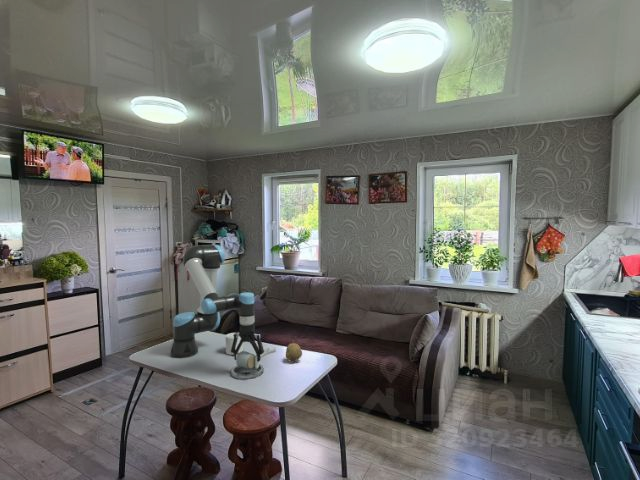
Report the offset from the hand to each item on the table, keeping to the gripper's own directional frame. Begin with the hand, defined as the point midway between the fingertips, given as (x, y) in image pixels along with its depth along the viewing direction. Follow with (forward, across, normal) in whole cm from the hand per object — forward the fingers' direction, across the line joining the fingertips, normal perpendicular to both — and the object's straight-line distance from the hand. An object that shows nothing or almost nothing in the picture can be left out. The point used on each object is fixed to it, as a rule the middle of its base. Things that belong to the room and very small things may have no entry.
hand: (247, 366), depth 171 cm
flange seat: (+3, 0, 0) cm, 3 cm away
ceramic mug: (0, 0, +1) cm, 1 cm away
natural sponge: (+3, +20, +18) cm, 27 cm away
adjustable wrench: (+4, -1, +22) cm, 22 cm away
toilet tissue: (+3, -18, +26) cm, 32 cm away
